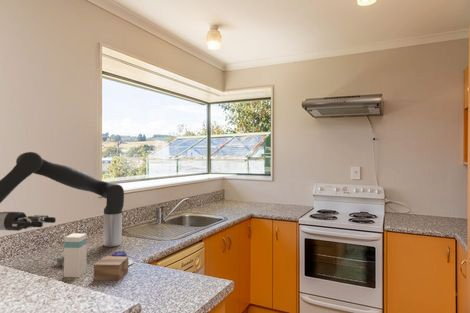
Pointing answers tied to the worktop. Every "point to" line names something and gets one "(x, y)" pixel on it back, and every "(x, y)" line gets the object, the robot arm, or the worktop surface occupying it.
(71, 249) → the milk carton
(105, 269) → the brown square block
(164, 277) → the worktop surface
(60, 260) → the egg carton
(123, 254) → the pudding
